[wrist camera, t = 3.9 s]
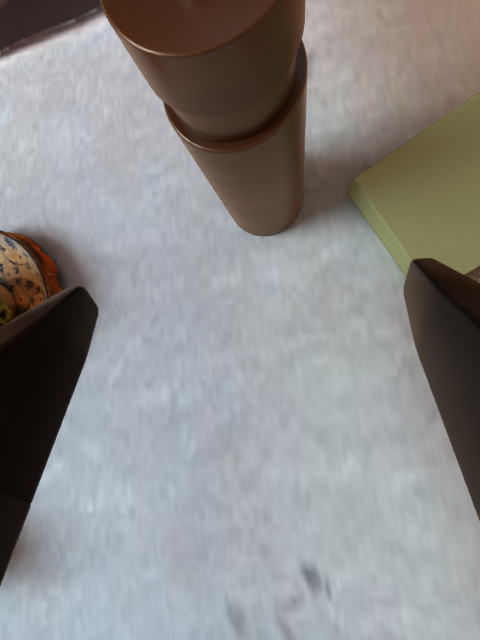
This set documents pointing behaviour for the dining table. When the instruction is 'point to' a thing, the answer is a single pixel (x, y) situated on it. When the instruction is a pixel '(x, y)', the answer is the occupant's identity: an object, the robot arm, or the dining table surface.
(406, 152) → the riser block
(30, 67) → the dining table surface
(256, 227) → the pepper mill
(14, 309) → the wood slice pumpkin decoration
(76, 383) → the robot arm
